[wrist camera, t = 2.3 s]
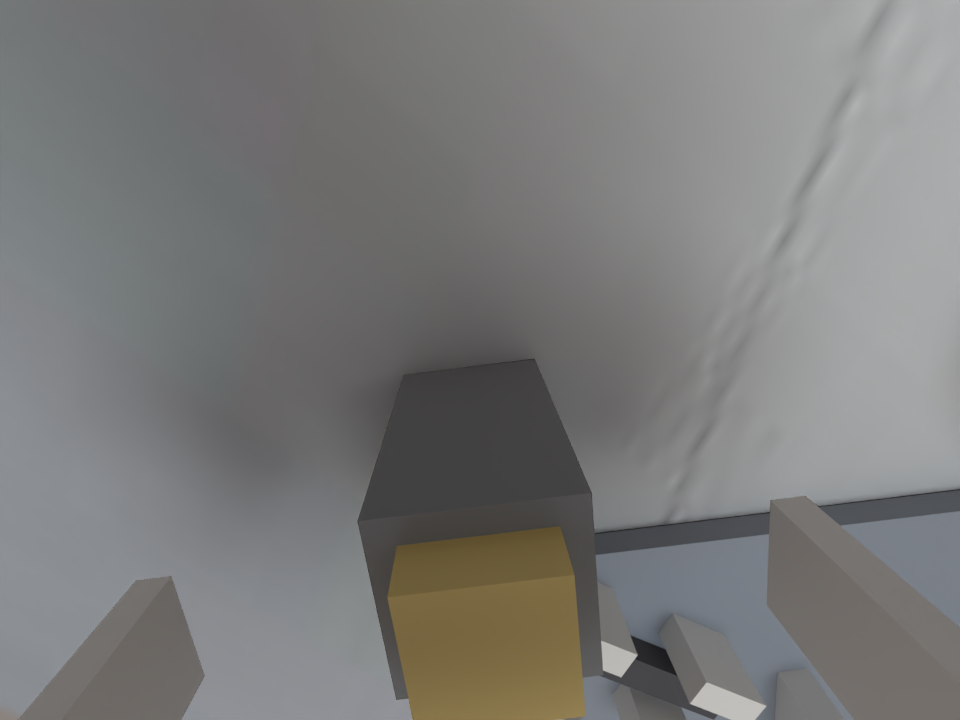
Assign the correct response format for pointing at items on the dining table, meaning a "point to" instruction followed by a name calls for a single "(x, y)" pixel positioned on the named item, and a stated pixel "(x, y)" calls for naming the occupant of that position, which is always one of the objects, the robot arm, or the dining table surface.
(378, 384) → the dining table surface
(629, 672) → the bar
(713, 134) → the dining table surface
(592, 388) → the dining table surface
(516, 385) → the connector plug
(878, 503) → the board
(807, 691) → the end holder
